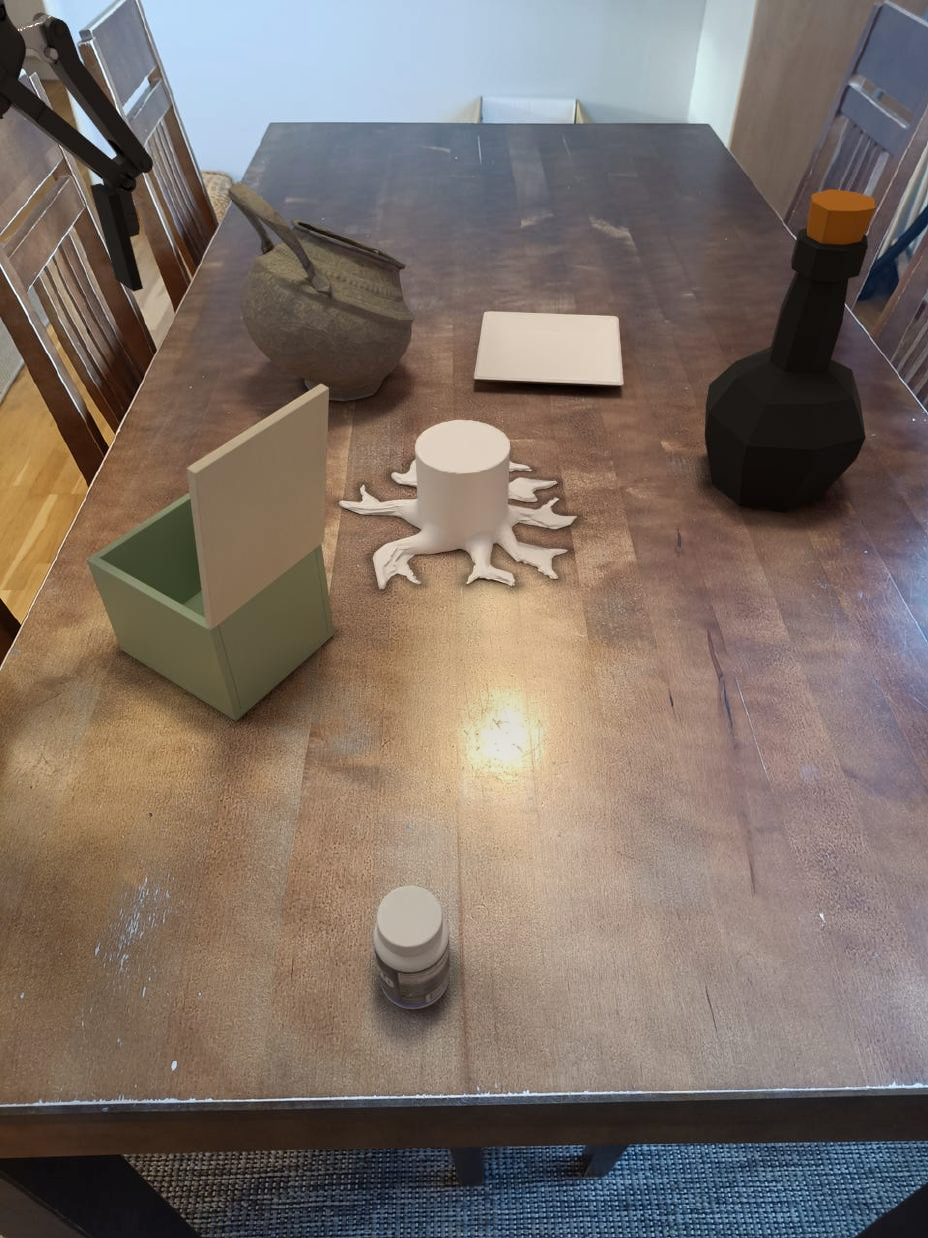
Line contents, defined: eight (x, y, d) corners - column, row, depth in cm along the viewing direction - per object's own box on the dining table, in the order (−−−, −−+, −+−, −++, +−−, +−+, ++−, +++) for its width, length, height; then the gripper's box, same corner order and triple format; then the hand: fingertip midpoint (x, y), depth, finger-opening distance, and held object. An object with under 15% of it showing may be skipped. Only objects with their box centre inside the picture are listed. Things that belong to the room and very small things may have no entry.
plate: (616, 329, 126) (618, 314, 124) (621, 398, 112) (623, 383, 111) (483, 323, 127) (484, 309, 125) (473, 391, 113) (473, 377, 112)
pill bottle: (373, 950, 61) (363, 888, 55) (441, 934, 62) (438, 871, 56) (386, 1019, 58) (377, 960, 52) (457, 1002, 58) (456, 942, 52)
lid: (185, 467, 56) (195, 473, 56) (320, 382, 63) (329, 387, 63) (205, 623, 67) (213, 629, 67) (317, 536, 75) (324, 541, 75)
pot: (254, 434, 107) (213, 217, 89) (256, 351, 121) (221, 151, 104) (426, 419, 109) (418, 205, 91) (408, 339, 123) (398, 141, 106)
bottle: (866, 518, 95) (980, 229, 74) (716, 530, 93) (788, 239, 72) (807, 435, 106) (890, 164, 85) (672, 445, 105) (723, 172, 84)
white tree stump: (599, 578, 88) (610, 501, 81) (344, 601, 86) (333, 524, 79) (553, 449, 104) (559, 376, 98) (337, 465, 102) (328, 392, 95)
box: (121, 650, 81) (85, 559, 74) (222, 574, 89) (199, 484, 81) (236, 721, 75) (210, 630, 68) (334, 634, 83) (321, 543, 75)
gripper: (95, -103, 55) (174, 247, 69) (-397, -61, 43) (-175, 351, 57) (154, -92, 51) (225, 278, 65) (-370, -41, 39) (-139, 396, 53)
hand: (38, 313), depth 61 cm, fingers open, 13 cm apart
